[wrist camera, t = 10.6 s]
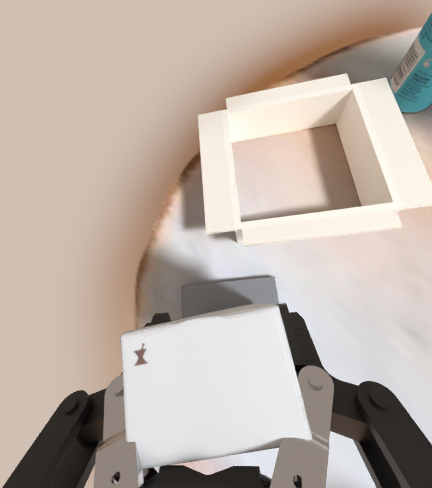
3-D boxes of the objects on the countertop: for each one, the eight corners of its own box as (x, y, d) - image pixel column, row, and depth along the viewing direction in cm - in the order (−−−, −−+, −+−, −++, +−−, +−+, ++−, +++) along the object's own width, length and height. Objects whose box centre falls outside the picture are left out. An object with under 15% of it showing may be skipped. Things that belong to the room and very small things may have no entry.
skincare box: (202, 367, 18) (119, 477, 6) (194, 315, 19) (114, 331, 8) (273, 354, 17) (319, 450, 6) (260, 302, 19) (277, 297, 7)
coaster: (273, 277, 20) (274, 276, 19) (290, 384, 17) (292, 387, 17) (183, 286, 21) (181, 285, 21) (187, 388, 19) (185, 390, 18)
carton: (359, 104, 24) (381, 66, 20) (408, 237, 19) (447, 221, 15) (204, 133, 26) (196, 104, 22) (214, 259, 21) (207, 250, 18)
